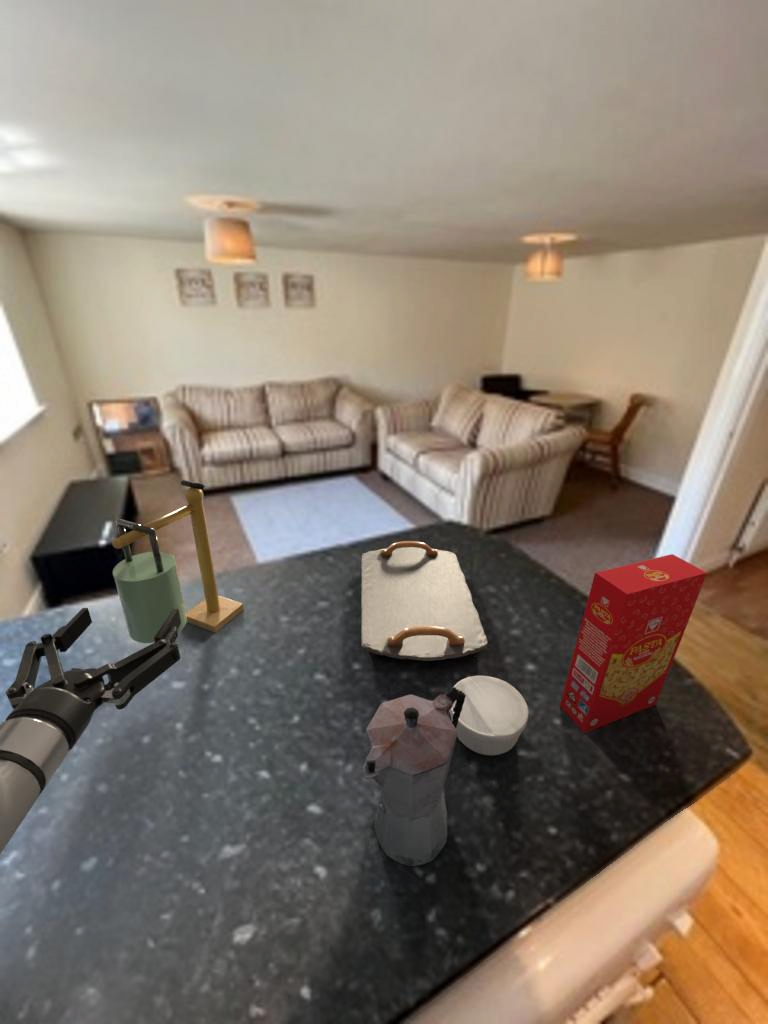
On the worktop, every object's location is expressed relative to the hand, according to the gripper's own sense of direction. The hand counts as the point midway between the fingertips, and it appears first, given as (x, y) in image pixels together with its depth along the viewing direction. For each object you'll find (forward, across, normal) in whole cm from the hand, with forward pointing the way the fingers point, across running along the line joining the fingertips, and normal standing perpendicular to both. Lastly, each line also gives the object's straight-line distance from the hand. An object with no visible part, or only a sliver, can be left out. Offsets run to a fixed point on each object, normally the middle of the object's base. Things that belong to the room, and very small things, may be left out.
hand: (132, 615), depth 68 cm
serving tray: (+22, +46, -13) cm, 52 cm away
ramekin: (-9, +54, -13) cm, 56 cm away
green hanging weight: (+6, 0, -7) cm, 9 cm away
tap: (+11, +3, -13) cm, 18 cm away
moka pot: (-22, +42, -13) cm, 49 cm away
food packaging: (-5, +75, -13) cm, 76 cm away
